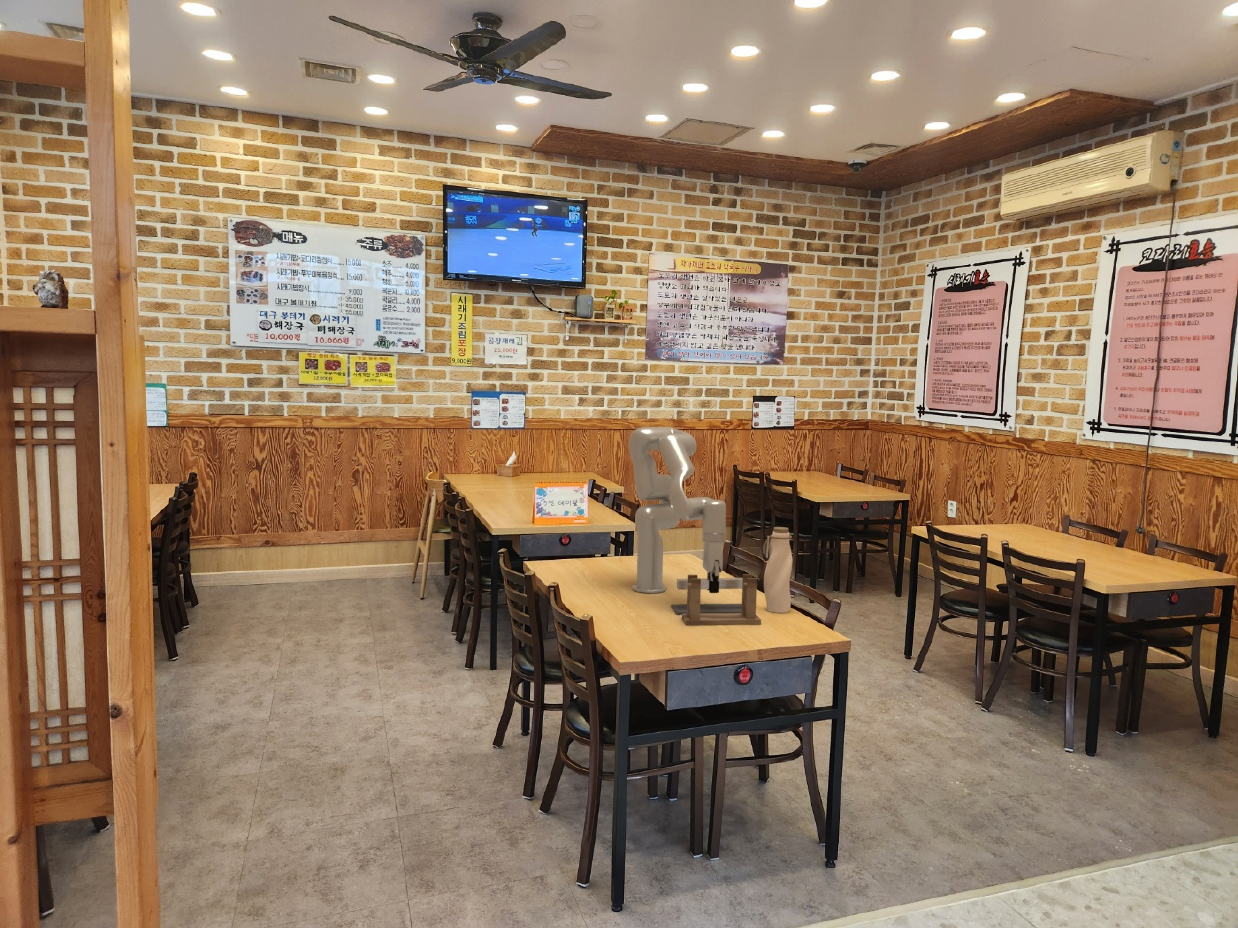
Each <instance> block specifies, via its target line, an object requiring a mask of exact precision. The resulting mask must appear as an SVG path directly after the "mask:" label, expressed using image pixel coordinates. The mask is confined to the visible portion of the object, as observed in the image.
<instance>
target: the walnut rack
mask: <svg viewBox="0 0 1238 928" xmlns="http://www.w3.org/2000/svg"><path fill="white" fill-rule="evenodd" d="M742 578H743V579H742V589H741V604H742V611H741V613H700V604H701V596H702V595H701V594H702V593H701V592H702V589H701V579H700V577H699V578H698V574H687V579H688V585H687V590H686V591H687V593H686V594H687V595H686V597H687V598H686V604H687V614H682V615H681V620H682V621H683V623H684V624H685V626H731V625H732V626H737V625H738V626H740V625H741V626H742V625H746V626H747V625H752V626H753V625H761V624H762V619H761V618H760V617H759V616H758V615H757V595H758V594H757V592H758V591H757V590H758V578H757V577H753V574H749V573H747V574H745V573H743V574H742Z"/></svg>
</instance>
